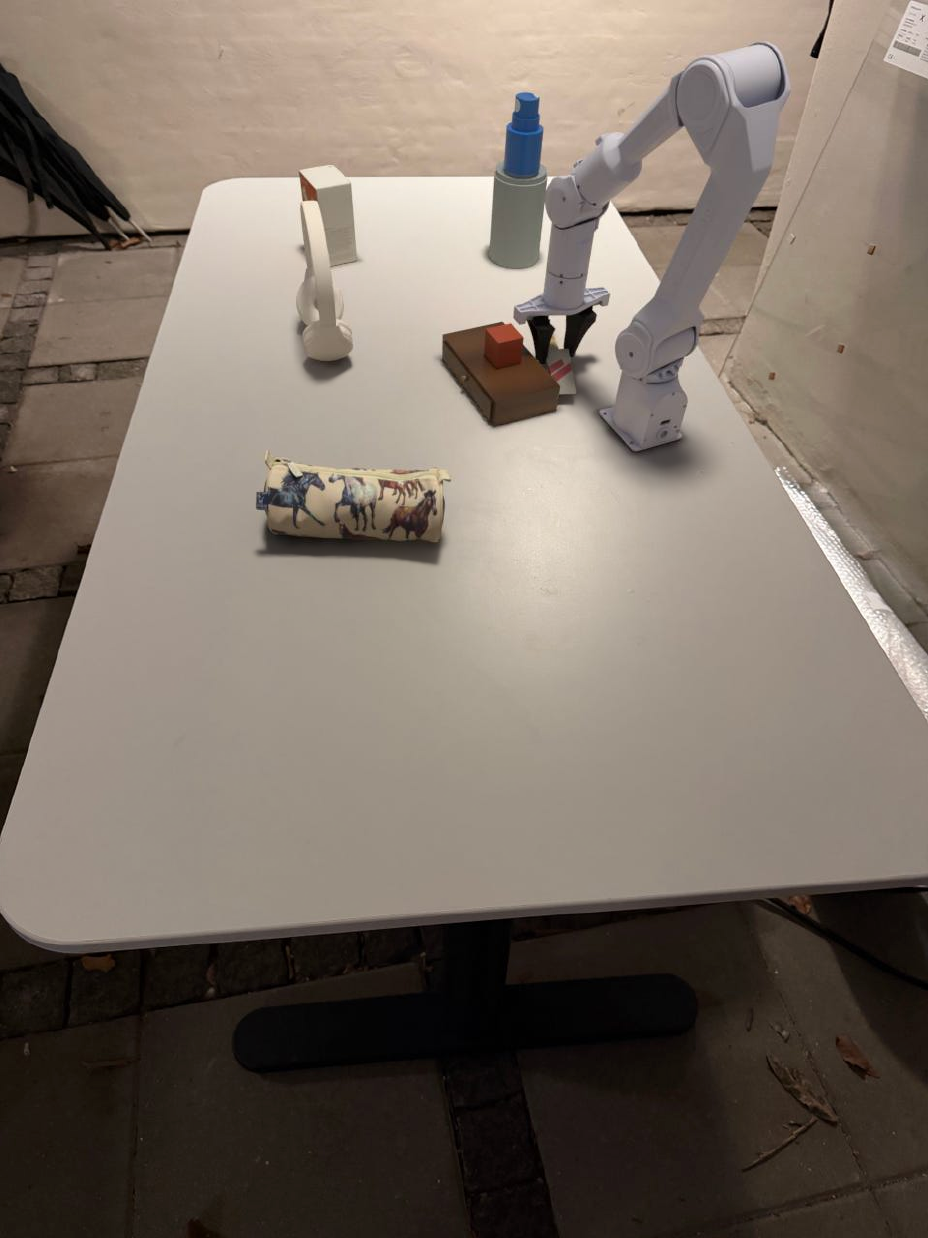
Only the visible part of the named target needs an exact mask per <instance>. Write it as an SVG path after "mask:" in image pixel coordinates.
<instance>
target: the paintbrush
mask: <svg viewBox="0 0 928 1238" xmlns="http://www.w3.org/2000/svg"><path fill="white" fill-rule="evenodd" d="M541 365H542V366H543V367H544V368H545V369H546V371H547V372H548V373H549V374H550V375H551V376H552V377H553V378H554V380H555V381H556V382H557V383H558V384H559V385H560V391H559V395H576V394H577V389H576V385H575V384H576V383H575V378H574V373H573V367H572V361H571V358H570V354H569V349H564V348H559V346H558V343H557V341H556V337H555V333H553V335H552V338H551V341H550V344H549V350H548V357H547V358H546V363H545V364H541Z"/></svg>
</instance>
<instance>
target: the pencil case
mask: <svg viewBox="0 0 928 1238" xmlns="http://www.w3.org/2000/svg"><path fill="white" fill-rule="evenodd" d="M264 463H265V465H266V466H267V468H268V473H267V476H266V479H265V481H264V482H265V483H264V486H263V491H256V497H255V498H256V499H255V500H256V501H255V509H256V510H258V511H264V513H265V515H266V522H267V523H266V524H267V527H268V529H269V531H270V532H271V533H272V534H273V535H285V536H286V535H289V536H293V537H298V538H299V537H300V538H320V539H321V538H322V539H348V540H363V541H369V540H382V541H383V540H384V541H391V540H392V541H397V542H403V541H416V540H421V541H428V542H431V543H437V542H438V541H439V539H440V538H441V535H442V529H443V525H444V519H445V513H446V512H445V511H446V501H445V496H444V481H445V482H448V483H451V482H452V476H451V473H450V472H449V471H448V469H443V468H438V467H431V468H429V469H427V470H419V469H413V470H411V469H410V470H406V469H396V468H395V469H394V468H393V469H392V468H391V469H390V468H389V469H373V468H359V467H351V468H335V467H326V466H325V467H324V466H321V465H312V464H305V463H299V462H298V463H297V462H294V461H292V460H290V459H289V458H287V457H275V458H273V456H272V454H271V453H270V450H269V449H266V451H265V455H264Z"/></svg>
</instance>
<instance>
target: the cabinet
mask: <svg viewBox="0 0 928 1238" xmlns="http://www.w3.org/2000/svg"><path fill="white" fill-rule="evenodd" d="M505 324H506V323H505V322H504V321H499V322H494V323H490V324H489V323H488V324H484V325H480V326H475V327H470V328H467V329H466V328H465V329H461V330H458V331H453V332H448V333H443V334H442V337H441V339H442V340H441V341H442V343H441V347H442V348H441V358H442V360H443V362H444V363H445V364H446V366H447V367H448V369H450V371H451V372H452V373H453V374H454V376H455V377H456V379H457V380H458V381H459V383H460V384H461V385H462V386H463V388H464V389H465V390H466V392H467V393H468V395H470V397H471V398H472V399H473V401H474V402H475V403H476V405H477V406H478V407H479V408H480V411H482V413H483V414H484V415H485V417H486V418H487V419H488V420H489V422H490V423H491V425H492V426H493V427H496V426H500V425H504V424H508V423H511V422H515V421H520V420H523V419H527V418H531V417H534V416H539V415H542V414H546V413H550V412H555V411H557V409H558V405H559V397H560V394H559V391H560V385H559V384H558V383H557V382H556V381H555V380H554V378H553V377H552V376H551V375H550V374H549V373H548V372H547V371H546V369H545V368H544V367H543V366H542V365H543V364H540V362H539V361H538V360H537V359H536V358H535V355H533V353H531V352H530V350H529V349H528V348H527V347H526V345H524V344H523V350H522V359H521V363H518V364H514V365H510V366H505V367H501V368H497V369H496V368H495V366H494V365H493V364H492V363H491V362H490V360H489V359H488V358H487V357H486V356H485V354H484V349H485V333H486V329H487V328H491V327H496V326H501V325H505Z"/></svg>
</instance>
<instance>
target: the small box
mask: <svg viewBox="0 0 928 1238" xmlns="http://www.w3.org/2000/svg"><path fill="white" fill-rule="evenodd" d="M298 176H299V184H300V192H301V202H303V201H317V203H318V205H319V209H320V213H321V217H322V222H323V227H324V232H325V238H326V243H327V249H328V253H329V260H330V267H334V266H338V265H345V264H347V263H348V264H349V263H352V262H356V261H357V260H358V254H357V241H356V229H355V216H354V203H353V190H352V189H353V188H352V182H351V181H350V180H349V179H348V178H347V177H346V175H344V173H343V172H341V171H340V170H339V169H338V168H337V166H335V165H334V164H327V165H320V166H314V167H308V168H304V169H299V170H298Z"/></svg>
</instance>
